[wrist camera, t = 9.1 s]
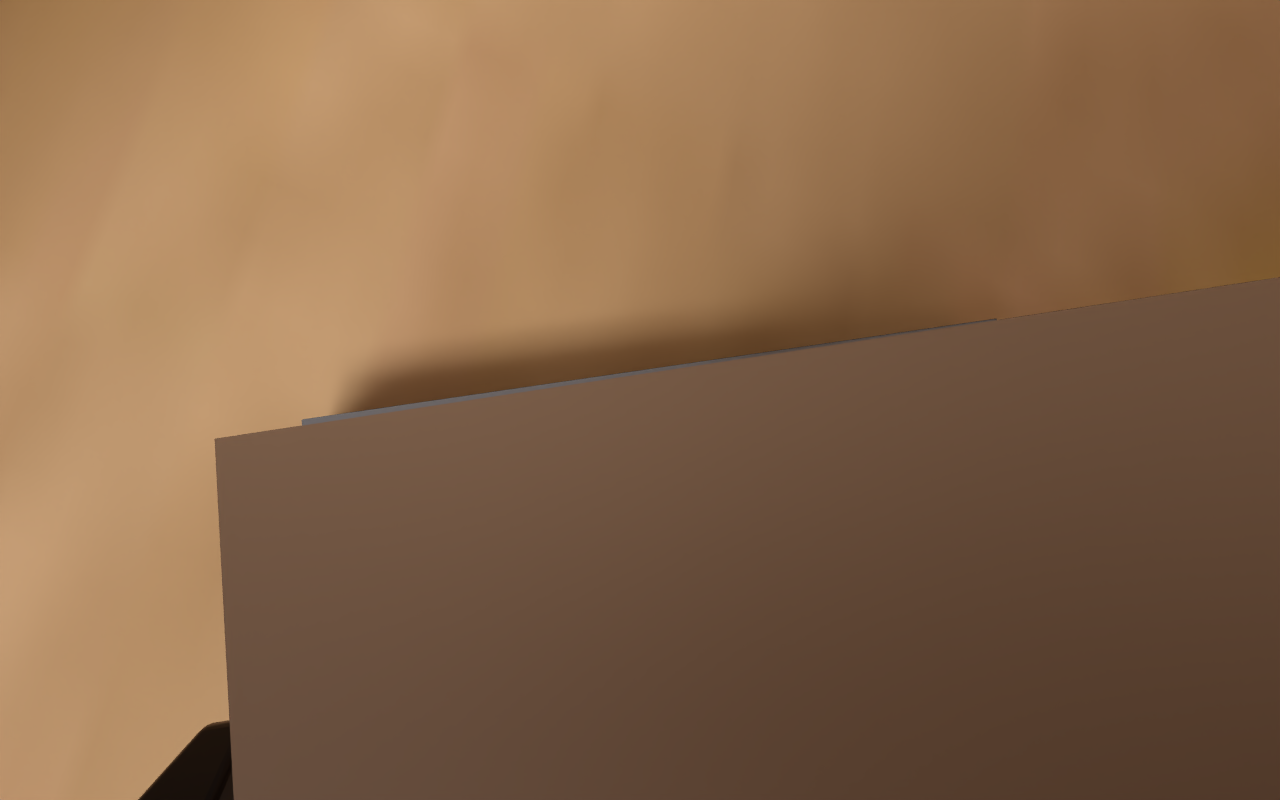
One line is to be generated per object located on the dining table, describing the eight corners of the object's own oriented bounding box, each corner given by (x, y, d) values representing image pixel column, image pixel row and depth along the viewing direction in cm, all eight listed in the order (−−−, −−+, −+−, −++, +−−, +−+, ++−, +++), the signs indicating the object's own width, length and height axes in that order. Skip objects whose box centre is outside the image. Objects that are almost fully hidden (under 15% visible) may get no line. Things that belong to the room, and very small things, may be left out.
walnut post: (886, 869, 17) (2009, 1820, 3) (585, 921, 16) (306, 2189, 3) (825, 565, 18) (1416, 256, 4) (544, 610, 18) (213, 440, 4)
